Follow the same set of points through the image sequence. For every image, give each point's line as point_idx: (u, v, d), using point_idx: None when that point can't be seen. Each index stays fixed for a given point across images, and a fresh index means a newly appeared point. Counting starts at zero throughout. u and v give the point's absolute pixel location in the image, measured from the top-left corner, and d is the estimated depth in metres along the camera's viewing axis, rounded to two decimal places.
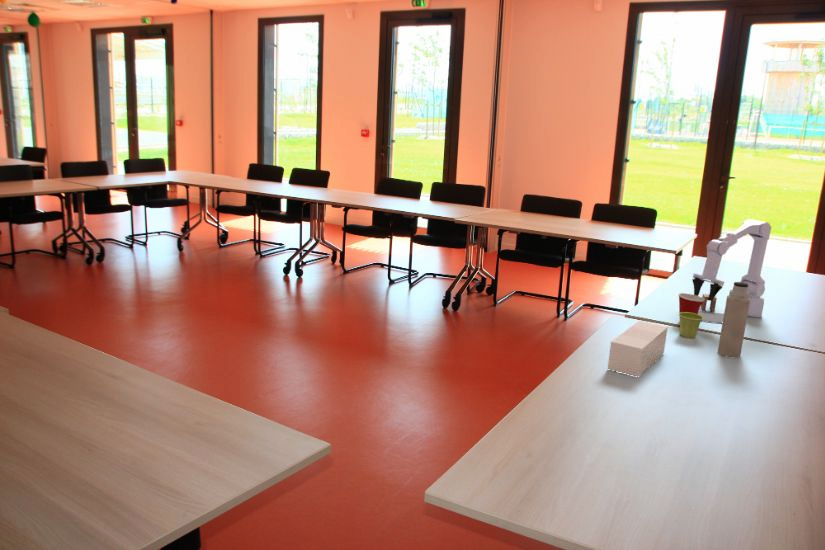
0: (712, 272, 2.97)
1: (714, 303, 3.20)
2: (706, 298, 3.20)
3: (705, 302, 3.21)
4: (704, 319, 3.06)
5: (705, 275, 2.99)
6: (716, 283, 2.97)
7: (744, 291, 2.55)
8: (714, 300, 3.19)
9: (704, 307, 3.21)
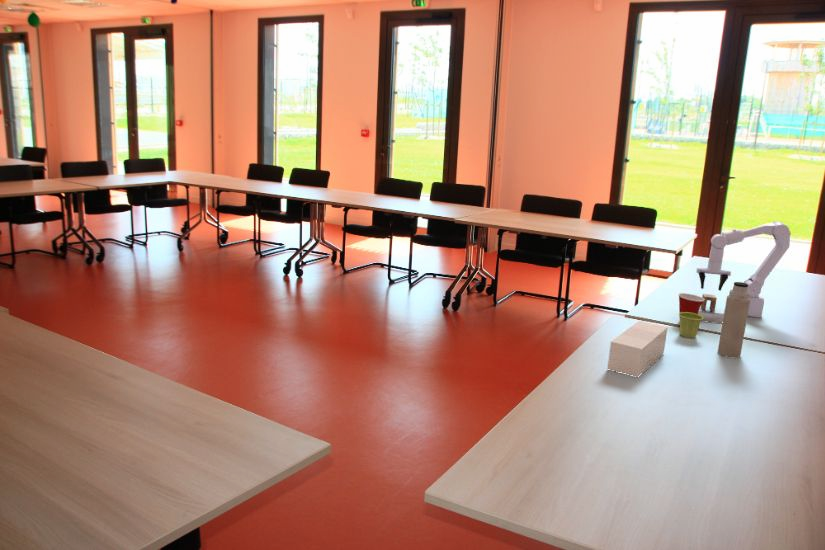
0: None
1: (714, 303, 3.20)
2: (706, 298, 3.20)
3: (705, 302, 3.21)
4: (704, 319, 3.06)
5: None
6: None
7: (744, 291, 2.55)
8: (714, 300, 3.19)
9: (704, 307, 3.21)
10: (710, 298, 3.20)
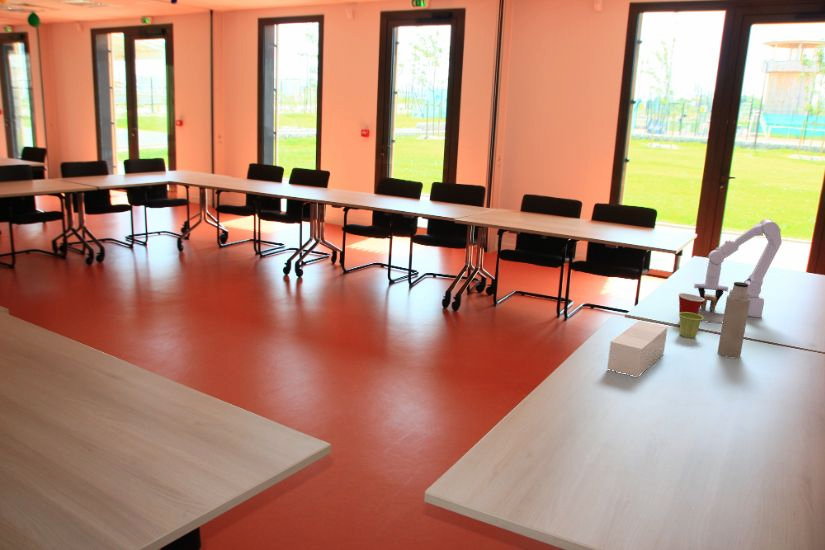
0: None
1: (714, 303, 3.20)
2: (706, 298, 3.20)
3: (705, 302, 3.21)
4: (704, 319, 3.06)
5: None
6: None
7: (744, 291, 2.55)
8: (714, 300, 3.19)
9: (704, 307, 3.21)
10: (710, 298, 3.20)
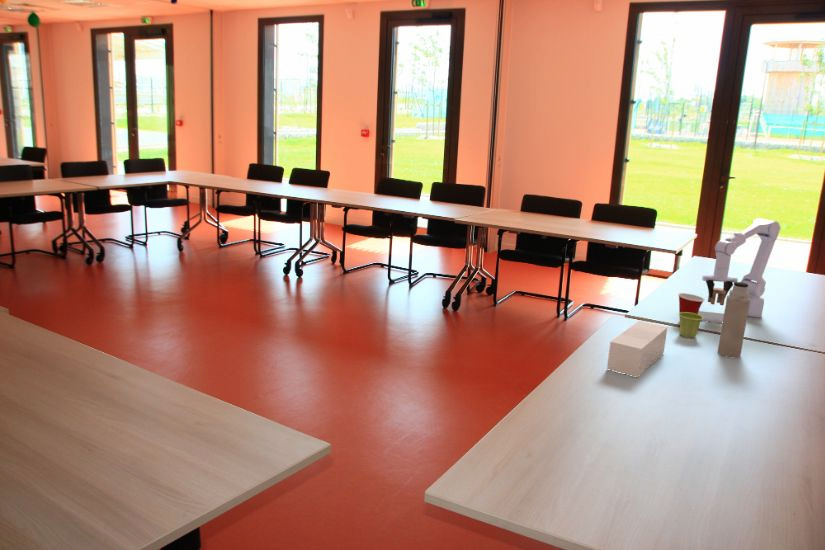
0: None
1: (723, 296, 3.05)
2: (715, 291, 3.05)
3: (714, 296, 3.06)
4: (704, 319, 3.06)
5: None
6: None
7: (744, 291, 2.55)
8: (723, 293, 3.05)
9: (713, 301, 3.06)
10: (719, 291, 3.05)
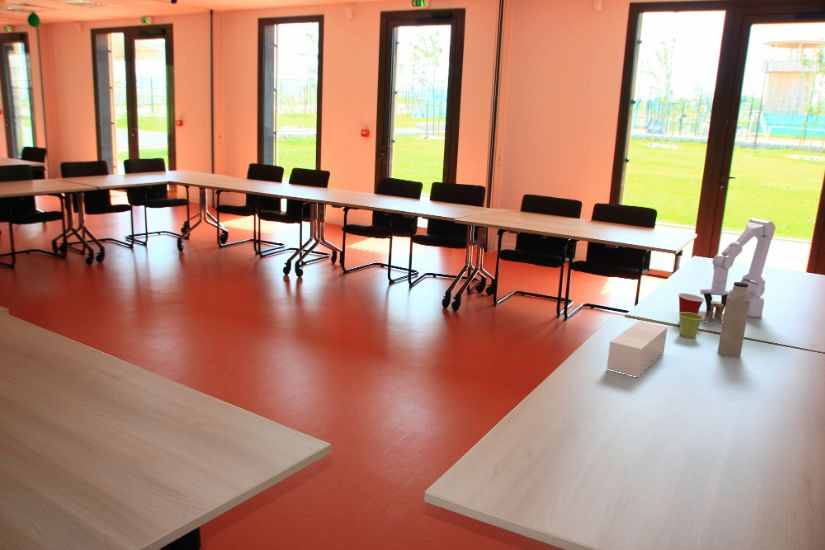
0: None
1: (721, 310, 3.07)
2: (713, 305, 3.07)
3: (712, 309, 3.07)
4: (704, 319, 3.06)
5: None
6: None
7: (744, 291, 2.55)
8: (721, 307, 3.07)
9: (711, 314, 3.08)
10: (717, 305, 3.07)
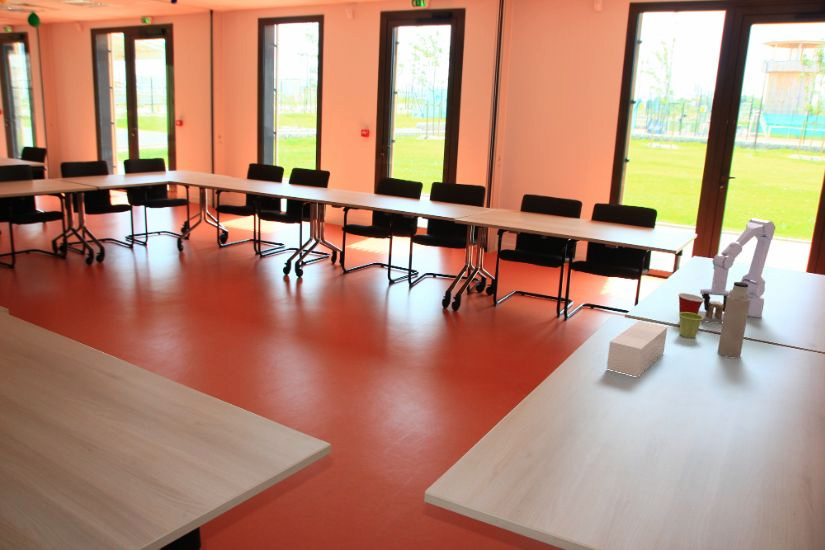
0: None
1: (721, 310, 3.07)
2: (713, 305, 3.07)
3: (712, 309, 3.07)
4: (704, 319, 3.06)
5: None
6: None
7: (744, 291, 2.55)
8: (721, 307, 3.06)
9: (711, 315, 3.08)
10: (717, 305, 3.06)
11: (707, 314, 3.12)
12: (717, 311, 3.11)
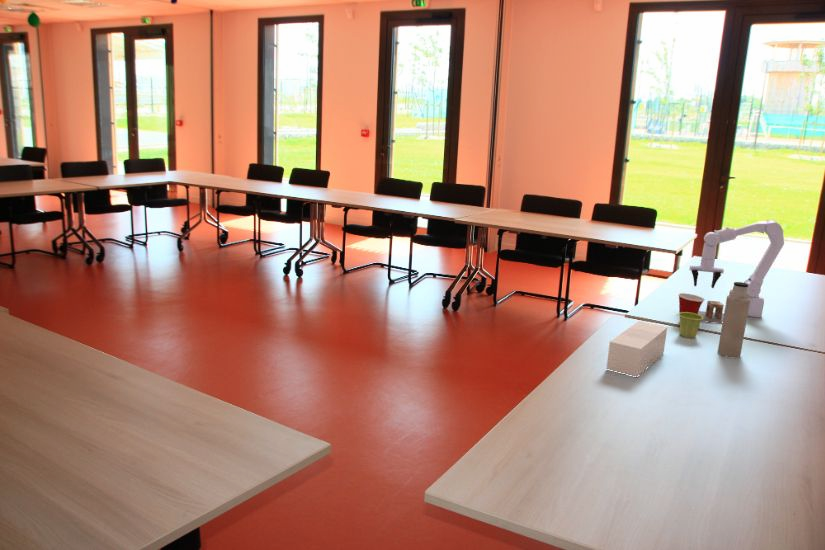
0: None
1: (721, 310, 3.07)
2: (713, 305, 3.07)
3: (712, 309, 3.07)
4: (704, 319, 3.06)
5: None
6: None
7: (744, 291, 2.55)
8: (721, 307, 3.06)
9: (711, 315, 3.08)
10: (717, 305, 3.06)
11: (707, 314, 3.12)
12: (717, 311, 3.11)
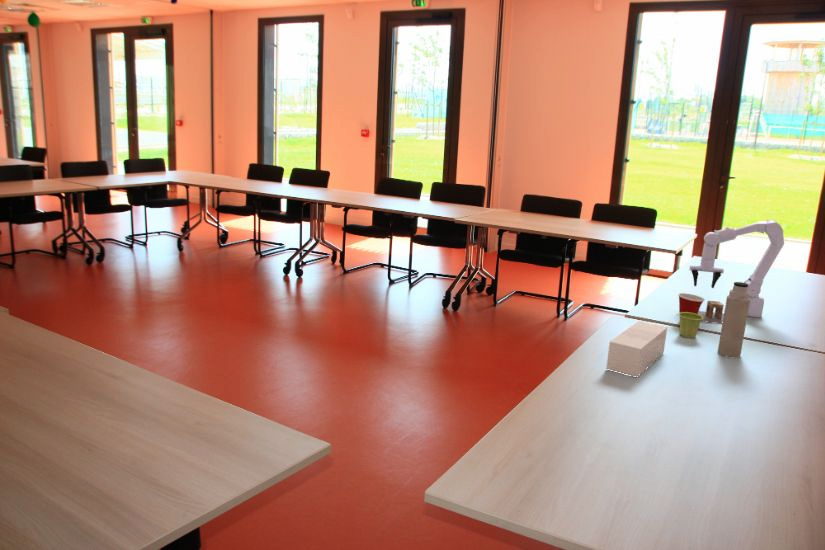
0: None
1: (721, 310, 3.07)
2: (713, 305, 3.07)
3: (712, 309, 3.07)
4: (704, 319, 3.06)
5: None
6: None
7: (744, 291, 2.55)
8: (721, 307, 3.06)
9: (711, 315, 3.08)
10: (717, 305, 3.06)
11: (707, 314, 3.12)
12: (717, 311, 3.11)
